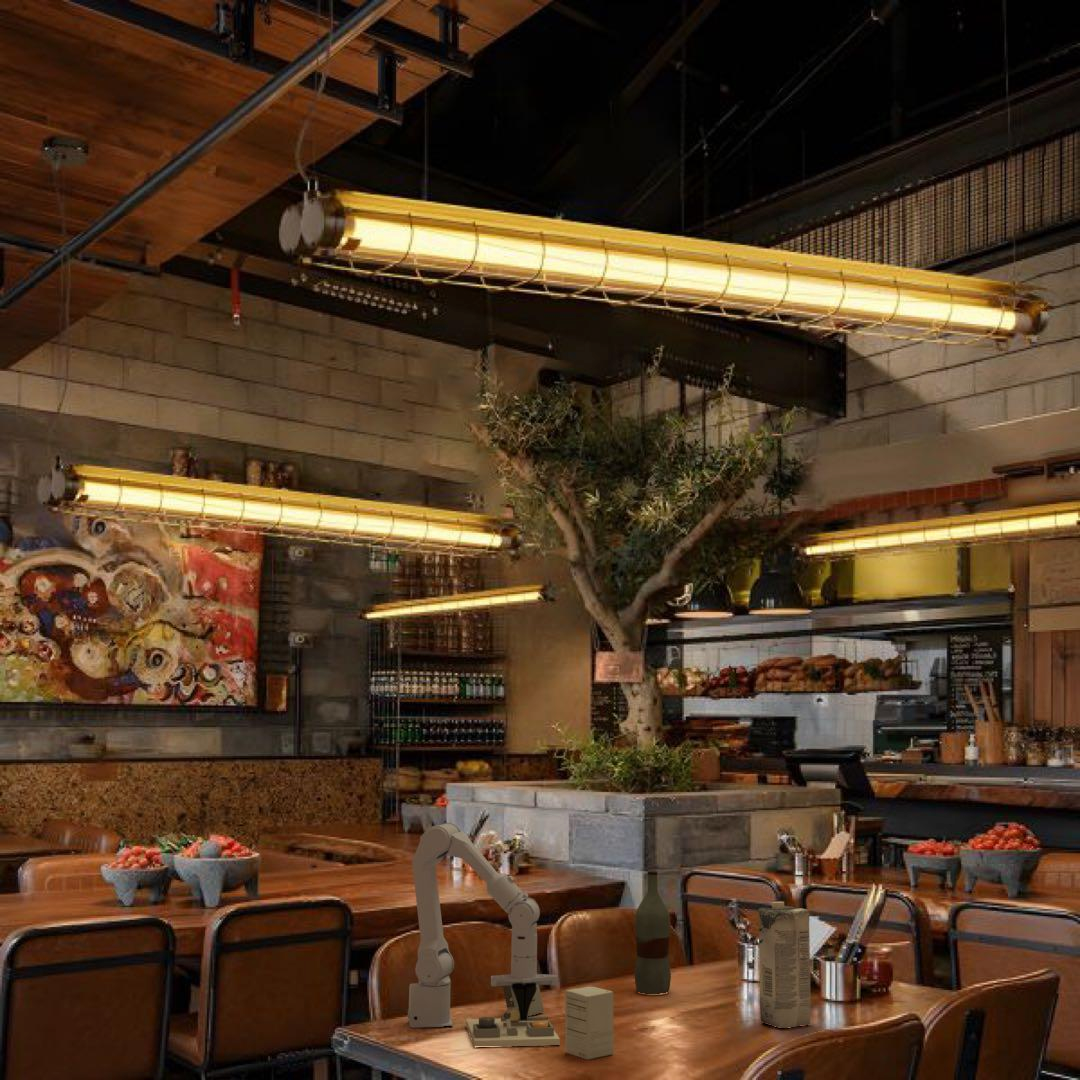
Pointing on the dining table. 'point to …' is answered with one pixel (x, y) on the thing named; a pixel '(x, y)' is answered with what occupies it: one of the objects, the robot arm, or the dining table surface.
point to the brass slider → (514, 1014)
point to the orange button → (539, 1024)
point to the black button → (486, 1022)
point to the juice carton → (784, 965)
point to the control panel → (513, 1033)
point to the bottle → (652, 941)
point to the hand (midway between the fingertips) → (523, 1018)
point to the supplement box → (589, 1022)
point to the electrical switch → (535, 1004)
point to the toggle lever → (508, 1020)
